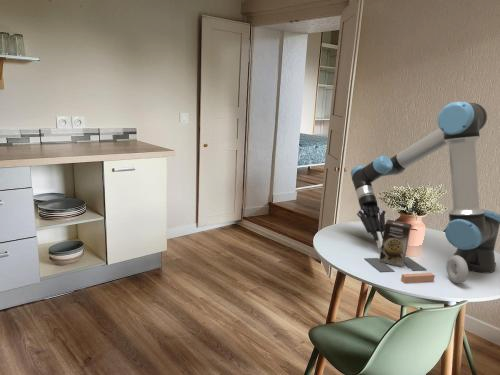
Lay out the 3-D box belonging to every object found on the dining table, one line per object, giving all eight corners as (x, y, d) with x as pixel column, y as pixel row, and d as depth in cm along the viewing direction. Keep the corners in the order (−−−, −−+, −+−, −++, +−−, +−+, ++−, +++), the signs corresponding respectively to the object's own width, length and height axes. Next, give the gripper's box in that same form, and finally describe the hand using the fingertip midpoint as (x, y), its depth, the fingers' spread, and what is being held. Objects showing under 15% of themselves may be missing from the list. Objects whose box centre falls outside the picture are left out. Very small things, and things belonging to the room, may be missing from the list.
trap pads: (407, 257, 161) (407, 256, 161) (426, 270, 150) (426, 269, 150) (364, 259, 157) (364, 258, 157) (380, 272, 145) (380, 271, 145)
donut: (442, 275, 146) (447, 250, 144) (451, 275, 147) (456, 251, 144) (458, 288, 137) (463, 262, 134) (467, 288, 137) (473, 262, 135)
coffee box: (378, 261, 154) (384, 222, 151) (381, 256, 160) (387, 218, 156) (403, 267, 150) (409, 227, 147) (405, 261, 156) (411, 223, 152)
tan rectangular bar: (429, 279, 143) (431, 272, 142) (433, 281, 141) (434, 275, 140) (400, 280, 140) (401, 274, 139) (404, 283, 138) (405, 276, 137)
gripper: (375, 202, 179) (390, 250, 167) (349, 202, 176) (363, 251, 164) (383, 193, 173) (400, 243, 161) (356, 193, 170) (371, 244, 158)
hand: (381, 247), depth 162 cm, fingers closed
